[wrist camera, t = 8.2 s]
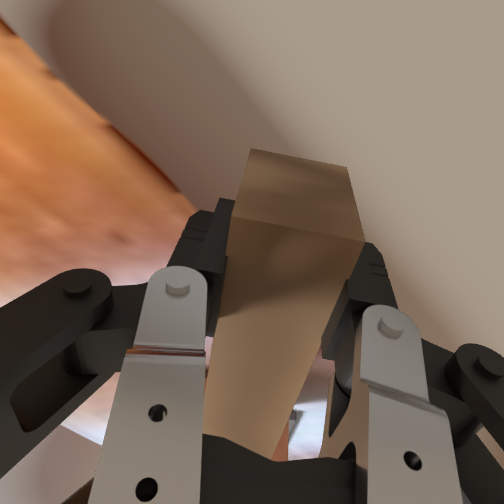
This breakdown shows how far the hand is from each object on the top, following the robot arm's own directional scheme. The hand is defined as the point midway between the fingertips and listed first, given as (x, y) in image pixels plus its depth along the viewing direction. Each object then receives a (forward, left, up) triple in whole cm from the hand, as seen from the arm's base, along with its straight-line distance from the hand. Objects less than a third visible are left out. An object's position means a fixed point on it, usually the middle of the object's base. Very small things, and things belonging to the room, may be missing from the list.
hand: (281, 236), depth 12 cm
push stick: (0, -6, -1) cm, 6 cm away
